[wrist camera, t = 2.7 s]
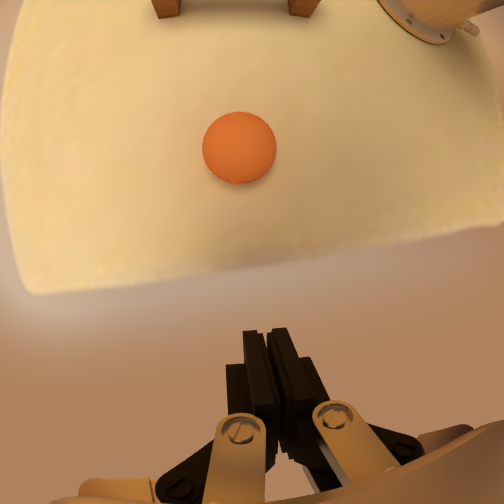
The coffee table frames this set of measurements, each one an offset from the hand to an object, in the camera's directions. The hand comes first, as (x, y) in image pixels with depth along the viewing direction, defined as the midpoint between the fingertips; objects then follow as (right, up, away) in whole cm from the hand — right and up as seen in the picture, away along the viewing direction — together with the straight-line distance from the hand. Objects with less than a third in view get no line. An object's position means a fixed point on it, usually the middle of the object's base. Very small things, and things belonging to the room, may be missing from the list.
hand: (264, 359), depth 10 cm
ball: (-1, +12, +9) cm, 15 cm away
